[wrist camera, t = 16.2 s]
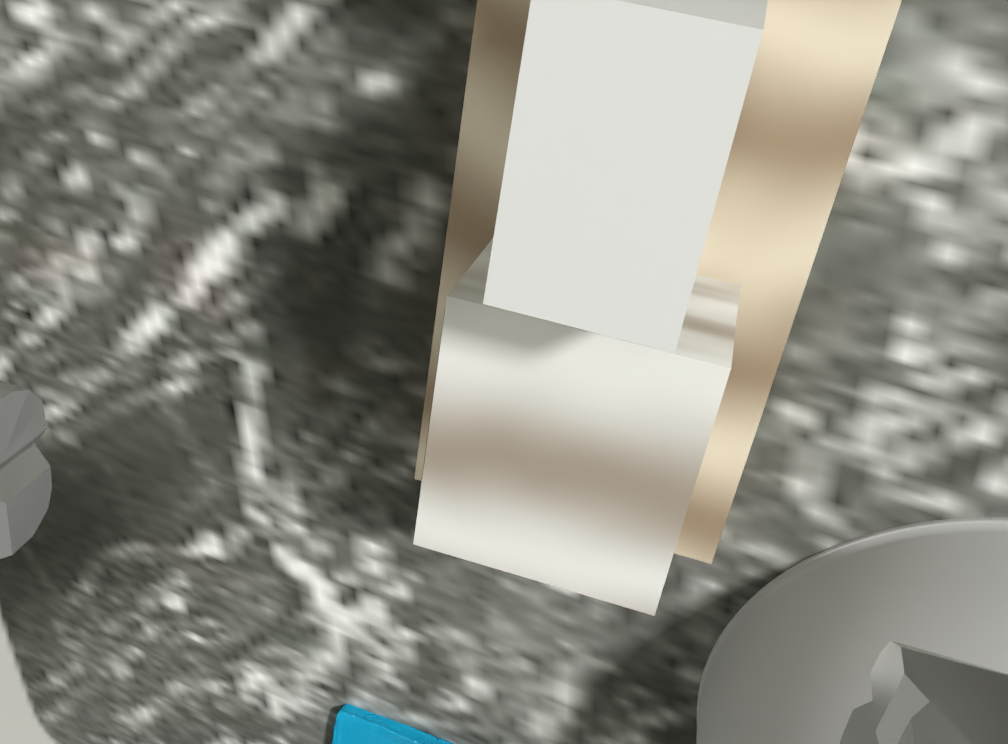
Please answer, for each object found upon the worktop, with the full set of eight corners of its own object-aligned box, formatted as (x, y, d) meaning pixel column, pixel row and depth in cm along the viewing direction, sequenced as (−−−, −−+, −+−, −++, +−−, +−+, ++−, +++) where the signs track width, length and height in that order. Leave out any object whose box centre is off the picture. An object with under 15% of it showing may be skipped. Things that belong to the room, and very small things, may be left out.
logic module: (771, -23, 27) (763, 29, 18) (706, 214, 30) (674, 353, 22) (611, -54, 27) (531, -18, 19) (566, 182, 31) (481, 303, 22)
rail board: (584, -696, 23) (498, -937, 16) (1110, -647, 21) (1266, -895, 14) (426, 459, 40) (350, 584, 33) (713, 540, 38) (697, 690, 31)
